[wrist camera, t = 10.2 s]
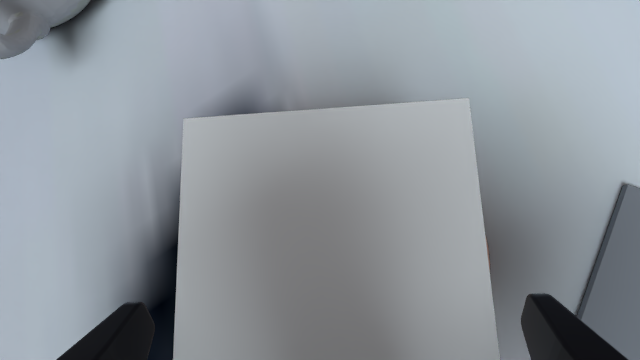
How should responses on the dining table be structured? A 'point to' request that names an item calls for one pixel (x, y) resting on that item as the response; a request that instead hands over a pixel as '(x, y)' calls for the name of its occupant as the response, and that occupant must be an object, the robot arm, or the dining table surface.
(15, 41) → the teacup
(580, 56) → the dining table surface
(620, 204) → the mat
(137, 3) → the dining table surface
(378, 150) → the white block
